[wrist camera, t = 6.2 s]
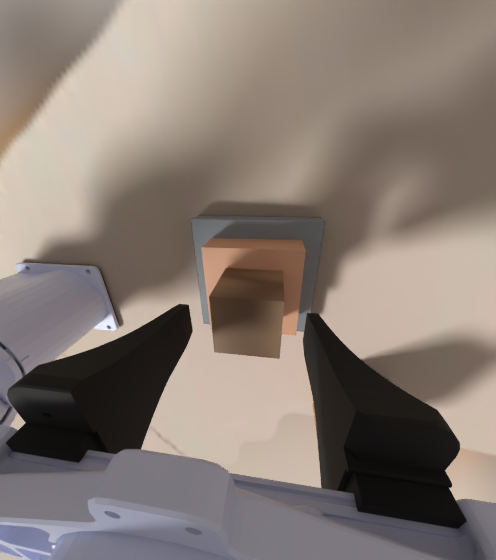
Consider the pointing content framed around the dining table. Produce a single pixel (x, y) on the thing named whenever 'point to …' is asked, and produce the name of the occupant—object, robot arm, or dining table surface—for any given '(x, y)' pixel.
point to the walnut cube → (248, 312)
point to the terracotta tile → (259, 267)
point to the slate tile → (263, 229)
